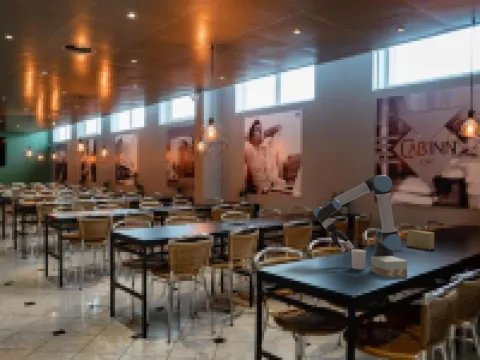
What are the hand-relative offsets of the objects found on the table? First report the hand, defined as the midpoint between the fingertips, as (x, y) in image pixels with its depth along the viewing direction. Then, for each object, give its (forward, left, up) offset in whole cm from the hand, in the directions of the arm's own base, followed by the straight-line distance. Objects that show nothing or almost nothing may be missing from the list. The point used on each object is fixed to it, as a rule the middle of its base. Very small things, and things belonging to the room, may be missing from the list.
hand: (348, 249), depth 286 cm
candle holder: (-5, +5, -12) cm, 14 cm away
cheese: (-103, -56, -12) cm, 118 cm away
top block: (-17, +22, -7) cm, 29 cm away
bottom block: (-17, +22, -12) cm, 30 cm away
